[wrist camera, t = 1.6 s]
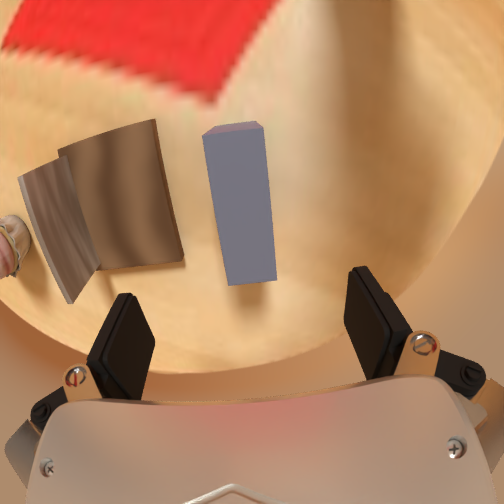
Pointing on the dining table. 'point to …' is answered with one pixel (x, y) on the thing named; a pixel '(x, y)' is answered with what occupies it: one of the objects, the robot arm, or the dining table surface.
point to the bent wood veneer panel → (103, 206)
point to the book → (241, 201)
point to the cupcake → (12, 245)
